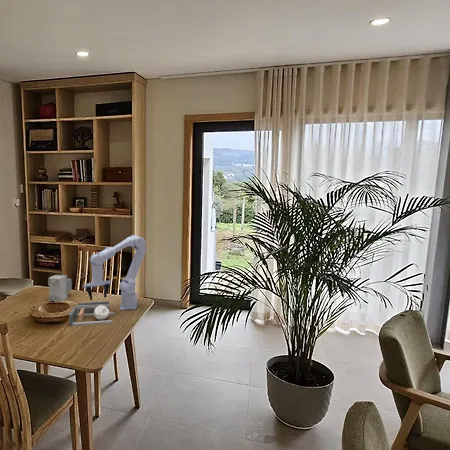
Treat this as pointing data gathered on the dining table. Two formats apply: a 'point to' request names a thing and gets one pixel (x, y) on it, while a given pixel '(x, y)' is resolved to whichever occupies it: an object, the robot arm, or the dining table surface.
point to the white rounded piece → (101, 312)
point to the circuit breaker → (59, 287)
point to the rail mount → (88, 309)
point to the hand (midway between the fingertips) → (98, 298)
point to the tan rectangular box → (82, 315)
